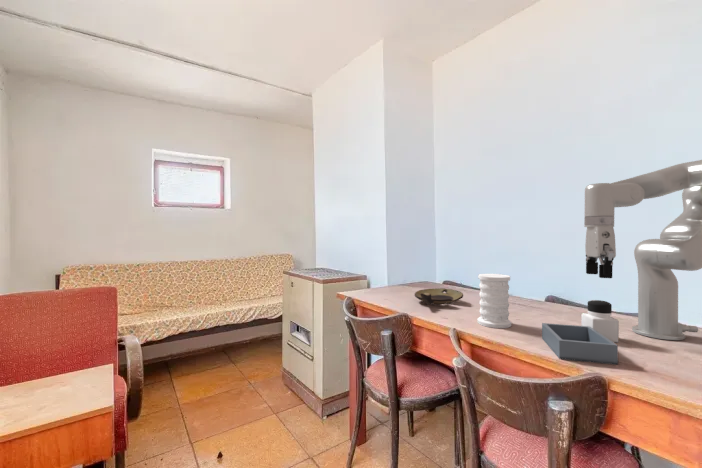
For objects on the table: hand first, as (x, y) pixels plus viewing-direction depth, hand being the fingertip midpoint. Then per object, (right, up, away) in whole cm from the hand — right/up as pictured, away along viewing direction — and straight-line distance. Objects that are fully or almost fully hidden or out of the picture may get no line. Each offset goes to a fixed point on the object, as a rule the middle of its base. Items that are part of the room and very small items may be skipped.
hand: (598, 275), depth 101 cm
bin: (-14, -20, -10) cm, 27 cm away
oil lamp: (-39, -20, +50) cm, 67 cm away
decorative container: (-26, -20, +17) cm, 37 cm away
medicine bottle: (0, -20, 0) cm, 20 cm away
